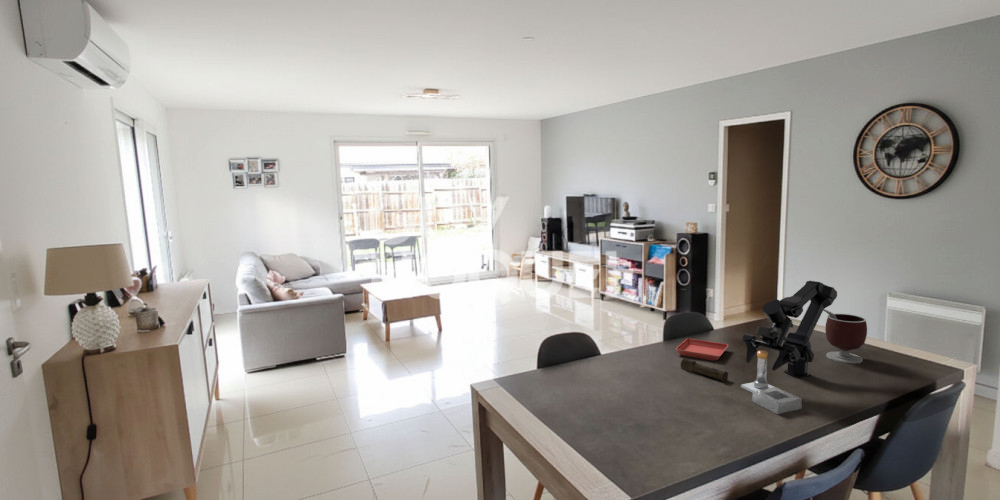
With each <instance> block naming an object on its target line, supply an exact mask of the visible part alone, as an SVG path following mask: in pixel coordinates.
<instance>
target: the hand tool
mask: <svg viewBox="0 0 1000 500" xmlns="http://www.w3.org/2000/svg"><path fill="white" fill-rule="evenodd" d="M680 368H681V369H683V370H685V371H688V372H689V373H694V372H695V373H697V374H701V375H703V376H708V377H710V378H713V379H715V380H719V381H721V383H724V382H726V381H728V377H729V372H728V371H727V370H725V371H723V370H720V369H718V368H714V367H710V366H707V365H703V364H700V363H698V362H697V360H694V359H693V360H692V359H691V358H683V359H681V361H680Z"/></svg>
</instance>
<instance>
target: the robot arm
mask: <svg viewBox="0 0 1000 500" xmlns="http://www.w3.org/2000/svg"><path fill="white" fill-rule="evenodd" d="M837 297H838V291H837V290H836V288H834V286H829V285H826V284H824V283H823V282H821V281H815V280H807V281H806V282H805V284H804V285H803V286H802V287H801V288H800V289H798V290H797V291H796V292H795V293H794V294H793V295H791V296H787V297H783V298H781V299H780V300H779V299H775V298H773V299H772V300H771V301H768V302H765V304H764V305H763V306H762V311H763V313H764V315H766V317H767V319H768V320H769V322H771V324H770V325H769V326H767V327H766V326H761V325H758V326H757V327H758V328H757V331H756V335H757V336H759V338H760V340H758V339H757V337H756V336H755V335H753V334H749V333H744V334H743V335H742V336H741V338H740V339H741V341H742V343H743V344H744V345H745V347H746V359H745V360H746V362H745V363H747V364H749V363H750V362H751V361H752V360H753V358H754V356H755V354H757V351H758V350H757V349H759V347H762V348H766V349H769V350H773V351H777V352H778V356H777V357H776V360H775V362H774V363H773V365H772V368H771V371H773V372H775V371H776V370H778V369H779V368H781V367H783V366H784V365H786V364H787V370H784V372H783V373H785V374H788V375H791V376H793V377H796V378H797V379H798V378H799V379H800V378H804V377H810V376H812V373H809V372H808V369H809V368H808V367H809V366H808V365H809V363H812V362H813V360H814V358H815V357H814V356H815V354H814V352H813V351H812V349H811V348H812V345H811V341H810V338H811V336H812V334H813V332H814V330H815V328H816V325H817V323H818V322H819V320H820V318H821V315H822V313H823V312H824V311H823V310H824V309H826V308H829V307H830V306H832V304H833V303H834V301H835V300H836V299H837ZM809 302H810V303H809ZM807 303H809V305H808V307H807V308H806V310H805V313H804V315H803V317H802V319H801V320H800V322H799V325H798V327H797V329H796V331H795V332H791V331H790V332H789V330H790V328H794V324H793V321H792V319H791V318H795V319H798V318H799V317H800V316H801V315H802V314H803V312H804V306H805V305H806V304H807Z"/></svg>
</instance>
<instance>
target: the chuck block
mask: <svg viewBox="0 0 1000 500" xmlns="http://www.w3.org/2000/svg"><path fill="white" fill-rule="evenodd" d="M802 400H803V398H802V397H799V396H798V395H795V394H792V393H790V392H788V391H786V390H783V389H781V388H779V387H777V386H774V387H773V388H768V389H763V390H758V391H753V393H752V400H751V402H753V403H754V404H756V405H758V406H760V407H762V408H764V409H766V410H769V411H770V412H772V413H774V414H776V415H779V414H784V413H788V412H789V413H790V412H792V411H798V410H801V409H802V406H803V405H802V404H803V403H802Z"/></svg>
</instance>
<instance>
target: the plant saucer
mask: <svg viewBox="0 0 1000 500" xmlns="http://www.w3.org/2000/svg"><path fill="white" fill-rule="evenodd" d="M729 346H730V345H729V344H728V343H722V342H721V343H720V342H714V341H708V340H700V339H694V338H686V339H684V341H683V342H681V343H680V344H679V345H678V346H677V347H676V348H675V351H677V353H678V354H680V355H681V356H684V357H690V358H697V359H700V360H701V359H702V360H708V361H714V362H715V361H718V360H719V359H720V357H721V356H722V355H723V354H724V352H726V350H727V349H728V347H729Z"/></svg>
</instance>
